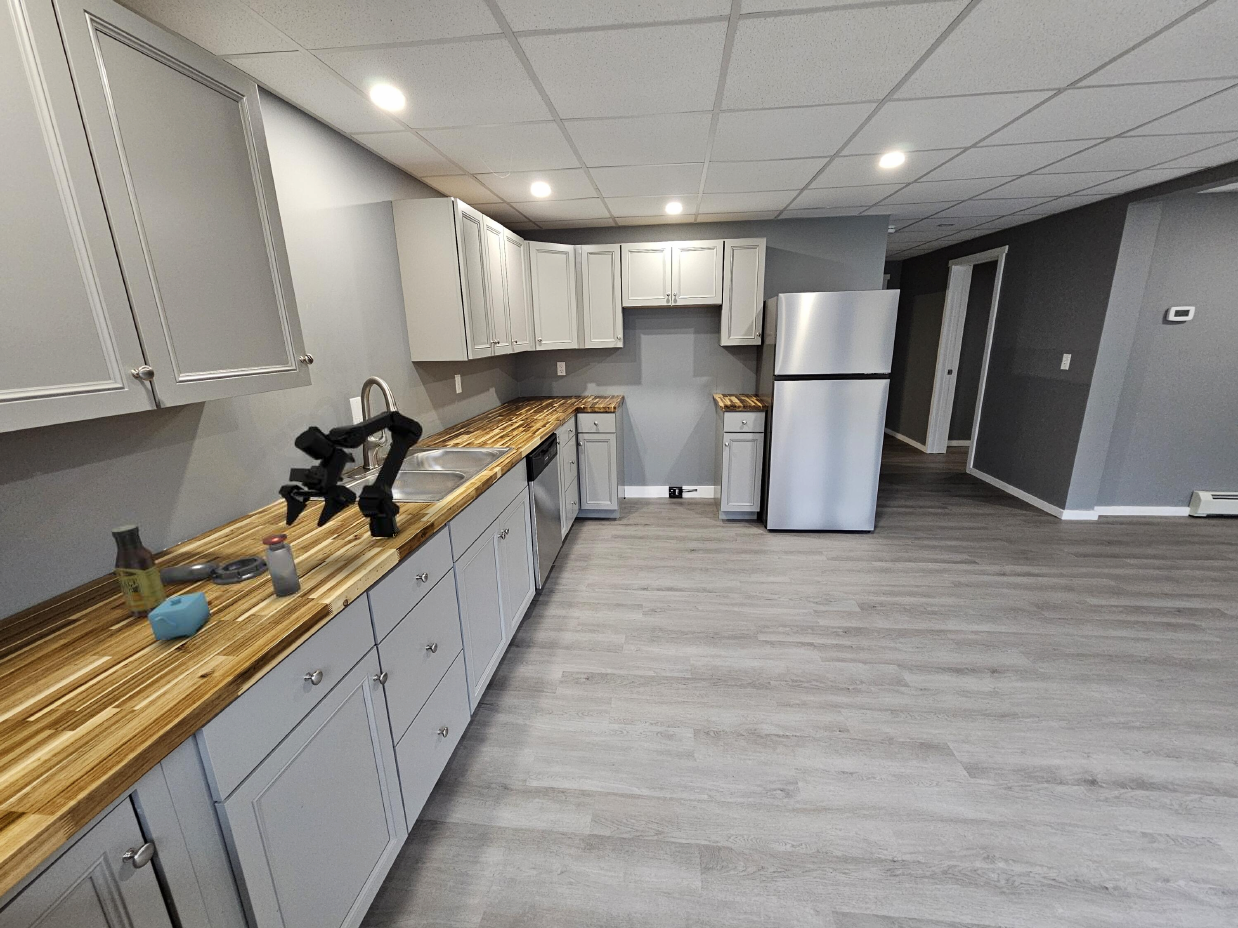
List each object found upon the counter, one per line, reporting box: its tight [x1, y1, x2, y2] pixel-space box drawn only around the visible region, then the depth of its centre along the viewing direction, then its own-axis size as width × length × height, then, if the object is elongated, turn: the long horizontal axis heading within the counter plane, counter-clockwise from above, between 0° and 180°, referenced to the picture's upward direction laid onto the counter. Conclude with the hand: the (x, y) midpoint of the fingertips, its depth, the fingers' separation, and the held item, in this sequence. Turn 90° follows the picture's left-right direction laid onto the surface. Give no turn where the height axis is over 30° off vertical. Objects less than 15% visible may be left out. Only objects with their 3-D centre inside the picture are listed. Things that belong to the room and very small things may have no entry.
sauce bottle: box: [111, 524, 167, 618], centre depth 105 cm, size 7×6×20 cm
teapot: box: [147, 591, 212, 641], centre depth 97 cm, size 12×6×8 cm, turn 16°
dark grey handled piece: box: [159, 555, 269, 586], centre depth 123 cm, size 23×12×4 cm, turn 101°
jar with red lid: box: [262, 533, 302, 598], centre depth 111 cm, size 5×5×14 cm
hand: (303, 525), depth 117 cm, fingers open, 9 cm apart
